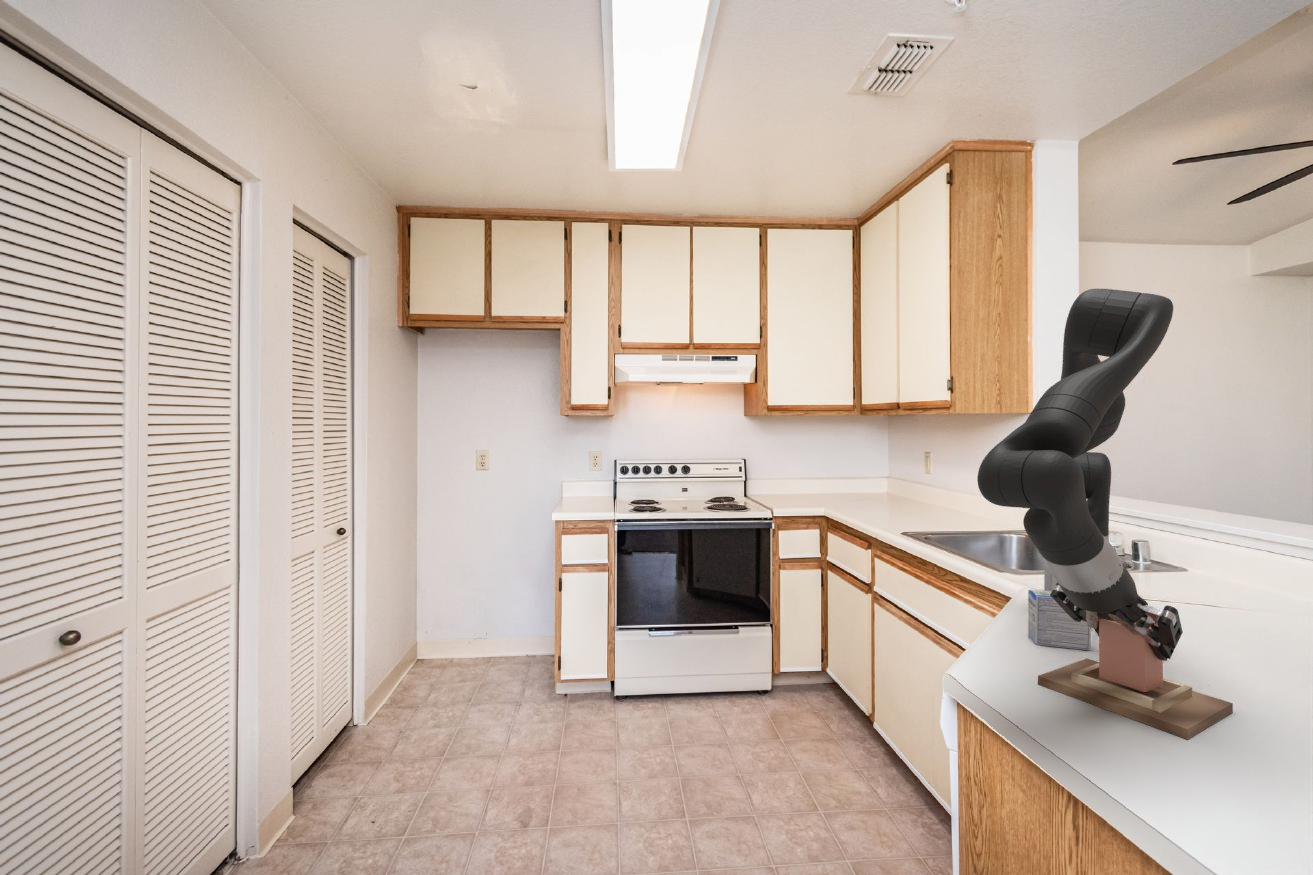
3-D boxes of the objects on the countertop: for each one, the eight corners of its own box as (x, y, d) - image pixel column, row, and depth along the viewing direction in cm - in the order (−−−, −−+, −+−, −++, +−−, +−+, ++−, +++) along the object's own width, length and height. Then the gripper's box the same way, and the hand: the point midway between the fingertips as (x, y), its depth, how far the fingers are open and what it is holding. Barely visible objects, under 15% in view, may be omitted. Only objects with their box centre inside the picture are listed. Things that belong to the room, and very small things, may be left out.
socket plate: (1037, 683, 77) (1037, 667, 77) (1086, 665, 83) (1087, 650, 83) (1187, 739, 62) (1187, 719, 62) (1232, 712, 69) (1232, 693, 69)
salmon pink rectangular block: (1099, 677, 74) (1099, 619, 74) (1117, 670, 76) (1117, 614, 76) (1144, 692, 69) (1144, 630, 69) (1162, 684, 72) (1162, 625, 72)
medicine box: (1080, 642, 93) (1080, 593, 93) (1091, 651, 89) (1091, 600, 89) (1027, 636, 96) (1027, 588, 96) (1036, 645, 91) (1036, 595, 92)
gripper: (1167, 556, 63) (1218, 643, 68) (1040, 536, 77) (1090, 610, 81) (1142, 605, 61) (1196, 692, 66) (1016, 576, 75) (1068, 649, 79)
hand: (1137, 646), depth 73 cm, fingers open, 5 cm apart
